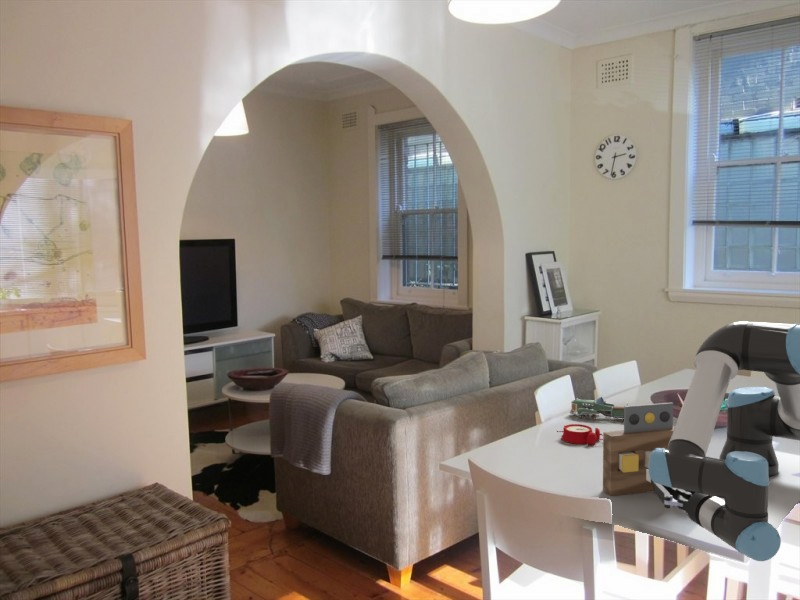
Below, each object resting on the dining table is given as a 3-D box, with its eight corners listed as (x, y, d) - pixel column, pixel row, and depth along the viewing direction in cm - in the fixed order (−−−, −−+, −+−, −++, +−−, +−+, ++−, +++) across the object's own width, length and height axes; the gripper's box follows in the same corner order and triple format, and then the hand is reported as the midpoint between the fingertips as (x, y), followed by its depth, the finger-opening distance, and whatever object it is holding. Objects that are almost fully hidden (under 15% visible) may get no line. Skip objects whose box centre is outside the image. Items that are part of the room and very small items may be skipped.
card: (673, 429, 177) (673, 403, 176) (625, 433, 174) (626, 407, 173) (671, 428, 178) (671, 402, 177) (623, 432, 175) (624, 406, 174)
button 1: (638, 471, 172) (638, 455, 172) (623, 472, 171) (623, 456, 171) (619, 459, 181) (620, 444, 180) (605, 461, 180) (606, 446, 179)
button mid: (675, 474, 169) (675, 458, 168) (660, 476, 168) (661, 460, 167) (655, 463, 178) (655, 447, 177) (640, 464, 177) (641, 449, 176)
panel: (692, 487, 178) (693, 428, 177) (610, 496, 173) (611, 436, 172) (682, 481, 182) (683, 424, 181) (602, 490, 177) (603, 432, 176)
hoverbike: (573, 412, 255) (573, 391, 254) (641, 419, 243) (642, 397, 243) (567, 418, 246) (567, 396, 246) (638, 426, 235) (638, 403, 234)
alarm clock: (564, 422, 229) (607, 418, 220) (568, 440, 228) (611, 437, 220) (553, 430, 220) (598, 426, 212) (557, 449, 220) (602, 446, 211)
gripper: (684, 533, 139) (624, 491, 162) (739, 526, 142) (672, 486, 165) (685, 498, 139) (625, 461, 162) (740, 492, 141) (672, 457, 164)
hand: (649, 474), depth 163 cm, fingers closed
